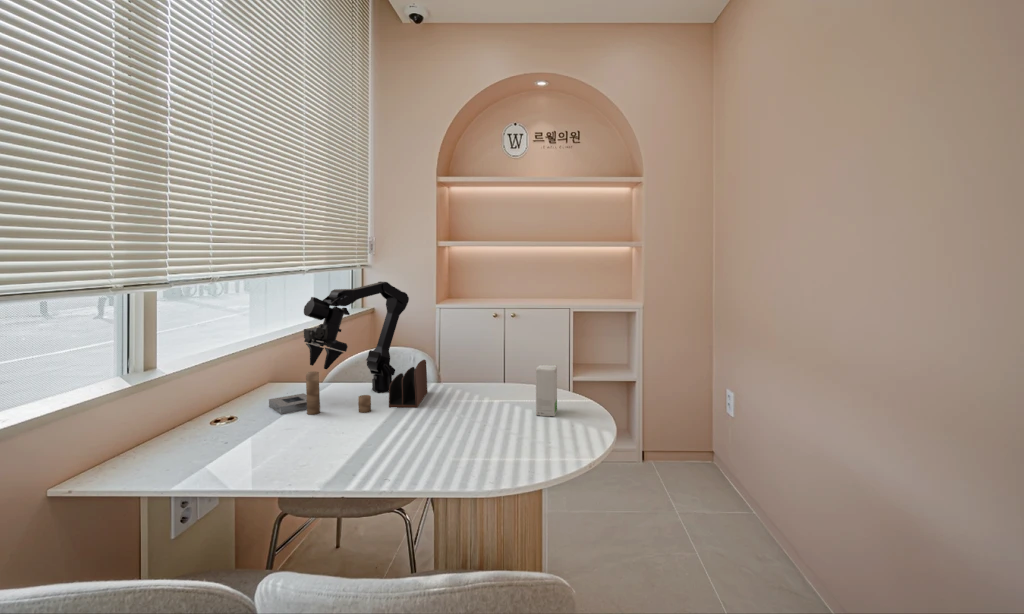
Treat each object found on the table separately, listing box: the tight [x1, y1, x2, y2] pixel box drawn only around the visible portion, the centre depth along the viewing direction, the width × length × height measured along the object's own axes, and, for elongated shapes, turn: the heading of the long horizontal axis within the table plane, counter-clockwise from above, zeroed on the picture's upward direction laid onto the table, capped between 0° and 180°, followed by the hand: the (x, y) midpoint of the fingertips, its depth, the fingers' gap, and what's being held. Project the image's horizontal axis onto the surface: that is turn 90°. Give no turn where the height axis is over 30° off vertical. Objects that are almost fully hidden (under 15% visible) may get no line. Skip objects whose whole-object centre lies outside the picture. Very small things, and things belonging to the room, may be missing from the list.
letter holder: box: [388, 359, 428, 409], centre depth 188 cm, size 10×20×14 cm, turn 179°
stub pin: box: [357, 394, 372, 414], centre depth 175 cm, size 4×4×5 cm
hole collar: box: [268, 392, 307, 415], centre depth 179 cm, size 12×12×2 cm
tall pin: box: [305, 371, 321, 416], centre depth 172 cm, size 4×4×14 cm
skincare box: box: [535, 364, 558, 417], centre depth 173 cm, size 8×7×16 cm
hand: (318, 367), depth 181 cm, fingers open, 9 cm apart
